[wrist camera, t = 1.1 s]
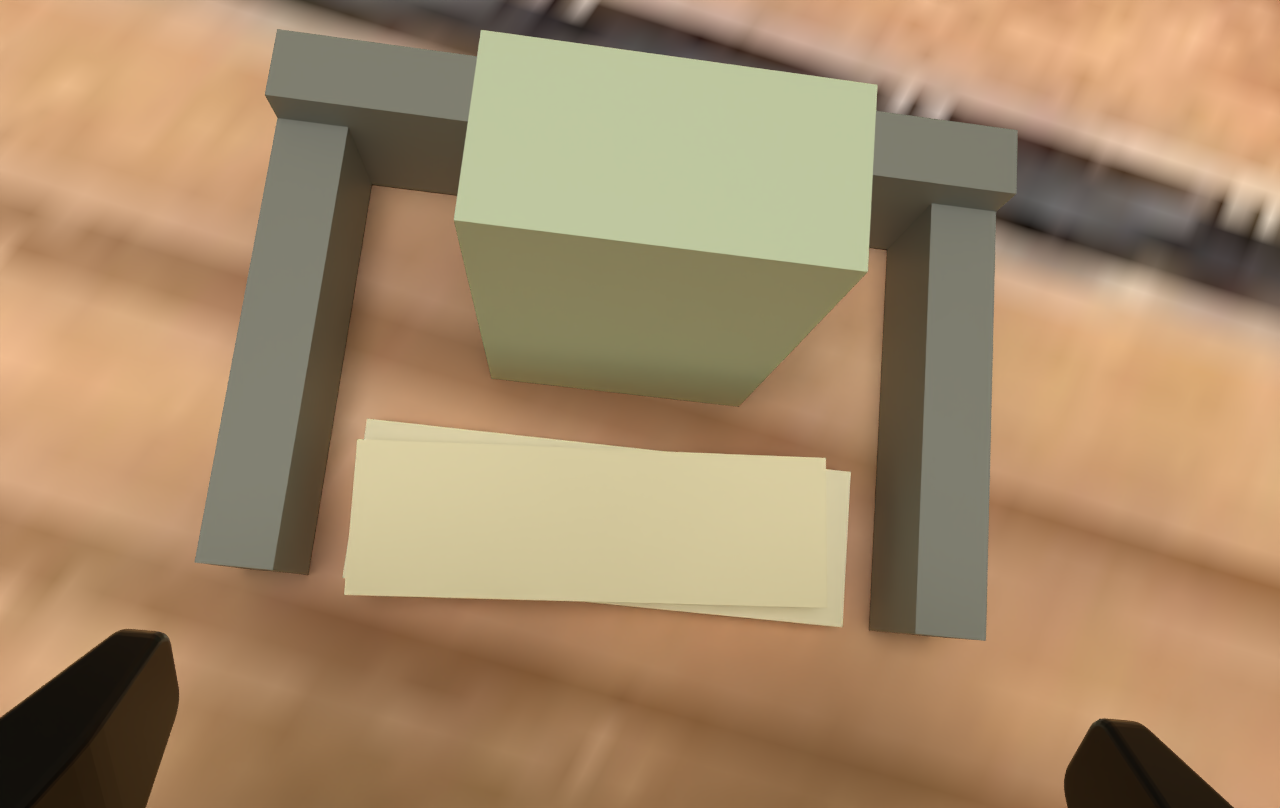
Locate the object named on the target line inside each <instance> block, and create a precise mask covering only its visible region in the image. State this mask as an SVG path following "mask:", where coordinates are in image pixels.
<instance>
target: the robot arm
mask: <svg viewBox="0 0 1280 808" xmlns="http://www.w3.org/2000/svg"><path fill="white" fill-rule="evenodd" d="M178 704H179V687H178V682H177V676H176V670H175V664H174V659H173V653H172V647H171V643H170V640H169V638H168V637H167V635H166V634H164V633H162V632H157V631H147V630H136V629H123V630H120V631H118V632H115V633H114V634H112V635H111V636H109V637H108V638H107V639H105V640H104V641H103V642H101V643H100V644H98V645H97V646H96V647H94V648H93V649H92V650H90V651H89V652H88V653H86V654H85V655H84V656H82V657H81V658H80V659H78V660H77V661H76V662H74V663H73V664H72V665H70V666H69V667H68V668H66V669H65V670H64V671H62V672H61V673H60V674H58V675H57V676H56V677H54V678H53V679H52V680H50V681H49V682H48V683H46V684H45V685H43V686H42V687H41V688H39V689H38V690H37V691H35V692H34V693H33V694H31V695H30V696H29V697H27V698H26V699H25V700H23V701H22V702H21V703H19V704H18V705H17V706H15V707H14V708H13V709H11V710H10V711H9V712H7V713H6V714H5V715H3V716H2V717H1V718H0V808H146V805H147V802H148V799H149V796H150V793H151V790H152V787H153V784H154V781H155V778H156V775H157V772H158V769H159V766H160V763H161V760H162V757H163V754H164V751H165V748H166V745H167V742H168V739H169V736H170V733H171V730H172V727H173V724H174V721H175V717H176V714H177V709H178ZM1064 791H1065V797H1066V802H1067V807H1068V808H1234V807H1232V806H1231V805H1230V804H1229V803H1228V802H1227V801H1226V800H1225V799H1224V798H1223V797H1222V796H1221V795H1219V794H1218V793H1217V792H1216V791H1215V790H1214V789H1213V788H1212V787H1211V786H1210V785H1209V784H1208V783H1206V782H1205V781H1204V780H1203V779H1202V778H1201V777H1200V776H1199V775H1198V774H1197V773H1196V772H1194V771H1193V770H1192V769H1191V768H1190V767H1189V766H1188V765H1187V764H1186V763H1185V762H1184V761H1183V760H1181V759H1180V758H1179V757H1178V756H1177V755H1176V754H1175V753H1174V752H1173V751H1172V750H1171V749H1170V748H1168V747H1167V746H1166V745H1165V744H1164V743H1163V742H1162V741H1161V740H1160V739H1159V738H1158V737H1156V736H1155V735H1154V734H1153V733H1152V732H1151V731H1150V730H1149V729H1148V728H1146V727H1145V726H1144V725H1142V724H1140V723H1138V722H1134V721H1127V720H1116V719H1105V718H1104V719H1099V720H1097V721H1096V722H1094V723H1093V724H1092V725H1091V727H1090V728H1089V730H1088V732H1087V734H1086V735H1085V737H1084V739H1083V741H1082V742H1081V744H1080V746H1079V748H1078V749H1077V751H1076V753H1075V755H1074V756H1073V758H1072V760H1071V762H1070V763H1069V765H1068V767H1067V770H1066V774H1065V779H1064Z"/></svg>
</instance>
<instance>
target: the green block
mask: <svg viewBox="0 0 1280 808" xmlns="http://www.w3.org/2000/svg"><path fill="white" fill-rule="evenodd" d="M876 101H877V85H875V84H868V83H860V82H853V81H846V80H839V79H831V78H824V77H817V76H810V75H803V74H795V73H788V72H781V71H774V70H767V69H759V68H752V67H745V66H738V65H730V64H723V63H716V62H709V61H702V60H694V59H687V58H680V57H673V56H665V55H658V54H651V53H644V52H637V51H629V50H622V49H615V48H608V47H601V46H593V45H586V44H579V43H572V42H564V41H557V40H550V39H543V38H536V37H528V36H521V35H514V34H507V33H500V32H492V31H485V30H481V34H480V41H479V48H478V55H477V62H476V69H475V76H474V83H473V90H472V97H471V104H470V111H469V118H468V125H467V132H466V138H465V145H464V152H463V159H462V166H461V173H460V180H459V187H458V194H457V201H456V208H455V215H454V223H455V227H456V232H457V236H458V240H459V244H460V248H461V253H462V257H463V261H464V265H465V269H466V274H467V278H468V282H469V286H470V290H471V295H472V299H473V303H474V307H475V311H476V316H477V320H478V324H479V328H480V332H481V337H482V341H483V345H484V349H485V353H486V358H487V362H488V366H489V370H490V374H491V378H492V379H500V380H509V381H518V382H527V383H535V384H544V385H553V386H562V387H570V388H579V389H588V390H597V391H605V392H614V393H623V394H632V395H641V396H649V397H658V398H667V399H676V400H684V401H693V402H702V403H711V404H719V405H728V406H737V407H739V406H740V405H741V403H742V402H743V401H744V400H745V399H746V398H747V397H748V396H749V395H750V394H751V393H752V392H753V391H754V390H755V389H756V388H757V387H758V386H759V385H760V384H761V383H762V382H763V381H764V380H765V378H766V377H767V376H768V375H769V374H770V373H771V372H772V371H773V370H774V369H775V368H776V367H777V366H778V365H779V364H780V363H781V362H782V361H783V360H784V359H785V358H786V357H787V356H788V354H789V353H790V352H791V351H792V350H793V349H794V348H795V347H796V346H797V345H798V344H799V343H800V342H801V341H802V340H803V339H804V338H805V337H806V336H807V335H808V334H809V333H810V332H811V331H812V329H813V328H814V327H815V326H816V325H817V324H818V323H819V322H820V321H821V320H822V319H823V318H824V317H825V316H826V315H827V314H828V313H829V312H830V311H831V310H832V309H833V308H834V307H835V305H836V304H837V303H838V302H839V301H840V300H841V299H842V298H843V297H844V296H845V295H846V294H847V293H848V292H849V291H850V290H851V289H852V288H853V287H854V286H855V285H856V284H857V283H858V282H859V280H860V279H861V278H862V277H863V276H864V275H865V274H866V273H867V272H868V258H869V238H870V218H871V199H872V179H873V160H874V140H875V121H876Z"/></svg>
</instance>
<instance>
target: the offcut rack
mask: <svg viewBox="0 0 1280 808" xmlns="http://www.w3.org/2000/svg"><path fill="white" fill-rule="evenodd" d="M476 62H477V56H470V55H462V54H455V53H448V52H440V51H433V50H426V49H419V48H411V47H404V46H397V45H389V44H382V43H375V42H367V41H360V40H353V39H345V38H338V37H331V36H323V35H316V34H309V33H301V32H294V31H287V30H279V29H277V33H276V39H275V44H274V49H273V54H272V60H271V65H270V70H269V75H268V81H267V86H266V91H265V96H266V98H267V100H268V101H269V103H270V105H271V107H272V109H273V110H274V112H275V114H276V116H277V118H278V119H277V124H276V129H275V135H274V140H273V145H272V151H271V156H270V161H269V167H268V172H267V177H266V183H265V188H264V193H263V199H262V204H261V210H260V215H259V220H258V226H257V231H256V236H255V242H254V247H253V252H252V258H251V263H250V268H249V274H248V279H247V284H246V290H245V295H244V301H243V306H242V311H241V317H240V322H239V327H238V333H237V338H236V343H235V349H234V354H233V359H232V365H231V370H230V376H229V381H228V386H227V392H226V397H225V402H224V408H223V413H222V418H221V424H220V429H219V434H218V440H217V445H216V450H215V456H214V461H213V467H212V472H211V477H210V483H209V488H208V493H207V499H206V504H205V509H204V515H203V520H202V525H201V531H200V536H199V541H198V547H197V552H196V558H195V562H196V563H204V564H212V565H220V566H228V567H236V568H245V569H255V570H265V571H275V572H285V573H295V574H305V575H308V573H309V567H310V560H311V554H312V548H313V542H314V536H315V530H316V524H317V518H318V511H319V505H320V499H321V493H322V487H323V481H324V475H325V468H326V462H327V456H328V450H329V444H330V438H331V432H332V426H333V419H334V413H335V407H336V401H337V395H338V389H339V383H340V376H341V370H342V364H343V358H344V352H345V346H346V340H347V333H348V327H349V321H350V315H351V309H352V303H353V297H354V291H355V284H356V278H357V272H358V266H359V260H360V254H361V248H362V241H363V235H364V229H365V223H366V217H367V211H368V205H369V199H370V192H371V186H372V184H373V185H381V186H388V187H396V188H404V189H412V190H420V191H428V192H436V193H444V194H452V195H457V194H458V187H459V180H460V173H461V166H462V159H463V152H464V145H465V138H466V132H467V125H468V118H469V111H470V104H471V97H472V90H473V83H474V76H475V69H476ZM1017 131H1018V130H1012V129H1004V128H997V127H990V126H982V125H975V124H968V123H960V122H953V121H946V120H938V119H931V118H924V117H916V116H909V115H902V114H894V113H887V112H880V111H876V121H875V140H874V160H873V179H872V199H871V218H870V238H869V247H870V248H878V249H886V250H887V266H886V287H885V309H884V330H883V351H882V372H881V393H880V414H879V435H878V456H877V477H876V499H875V520H874V541H873V562H872V583H871V604H870V625H869V630H871V631H881V632H892V633H902V634H912V635H922V636H932V637H945V638H958V639H971V640H983V641H986V612H987V570H988V528H989V485H990V443H991V401H992V359H993V317H994V274H995V232H996V211H997V210H998V209H1000V208H1001V207H1002V206H1003V205H1004V204H1005V203H1006V202H1008V201H1009V200H1010V199H1011V198H1012V197H1013V196H1014V195H1015V194H1016V183H1017ZM850 476H851V472H847V471H838V470H829V469H826V458H812V457H787V456H762V455H738V454H713V453H688V452H665V451H656V450H647V449H638V448H629V447H620V446H611V445H602V444H593V443H584V442H575V441H566V440H557V439H548V438H538V437H529V436H520V435H511V434H502V433H493V432H484V431H475V430H466V429H457V428H448V427H439V426H430V425H421V424H412V423H402V422H393V421H384V420H375V419H367V423H366V429H365V436H364V439H357V448H356V460H355V472H354V483H353V495H352V507H351V519H350V531H349V539H348V545H347V551H346V558H345V564H344V571H343V577H342V578H345V590H344V595H356V596H393V597H429V598H465V599H502V600H538V601H575V602H588V603H598V604H609V605H619V606H629V607H639V608H649V609H659V610H669V611H679V612H689V613H700V614H710V615H720V616H730V617H740V618H750V619H760V620H770V621H780V622H790V623H801V624H811V625H821V626H832V627H843V608H844V589H845V570H846V551H847V532H848V514H849V495H850Z"/></svg>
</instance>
